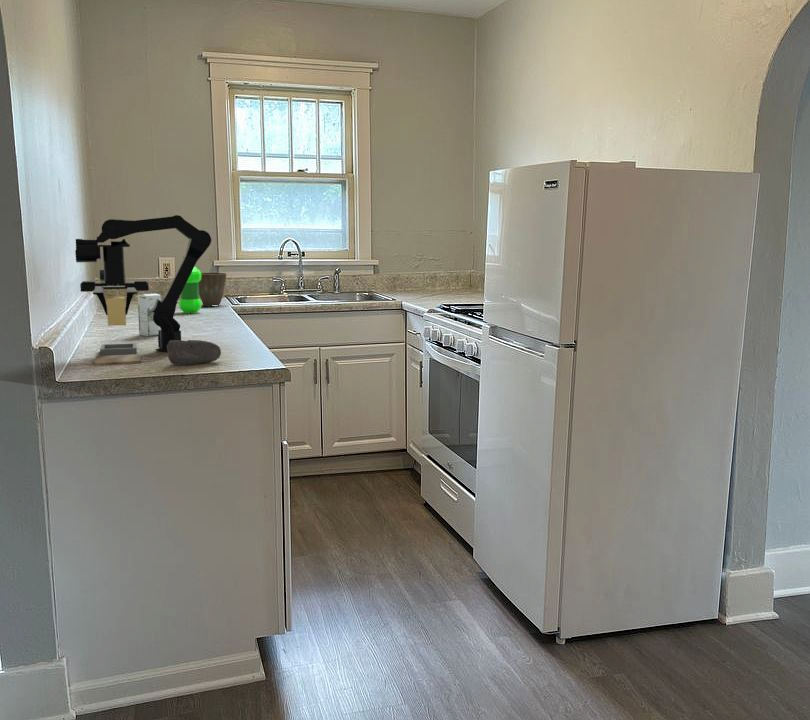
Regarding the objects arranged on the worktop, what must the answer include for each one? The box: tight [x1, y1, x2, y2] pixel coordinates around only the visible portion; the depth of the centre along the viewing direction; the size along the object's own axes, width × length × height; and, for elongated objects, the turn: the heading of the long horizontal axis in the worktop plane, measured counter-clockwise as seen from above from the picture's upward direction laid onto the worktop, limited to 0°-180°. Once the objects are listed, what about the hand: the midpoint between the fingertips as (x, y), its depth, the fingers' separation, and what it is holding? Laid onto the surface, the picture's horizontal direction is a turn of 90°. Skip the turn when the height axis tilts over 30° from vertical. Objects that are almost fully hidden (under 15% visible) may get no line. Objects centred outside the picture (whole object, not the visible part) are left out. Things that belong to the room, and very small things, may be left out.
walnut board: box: [93, 353, 142, 366], centre depth 210 cm, size 12×12×1 cm
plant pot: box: [199, 272, 227, 307], centre depth 359 cm, size 15×15×16 cm
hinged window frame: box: [99, 342, 138, 356], centre depth 227 cm, size 10×20×2 cm, turn 20°
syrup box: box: [137, 293, 162, 337], centre depth 259 cm, size 6×6×14 cm
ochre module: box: [106, 296, 127, 327], centre depth 220 cm, size 5×5×8 cm
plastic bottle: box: [178, 256, 203, 314], centre depth 328 cm, size 10×10×25 cm
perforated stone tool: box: [166, 339, 222, 365], centre depth 206 cm, size 15×5×7 cm, turn 114°
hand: (116, 314), depth 221 cm, fingers closed on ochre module, 5 cm apart
